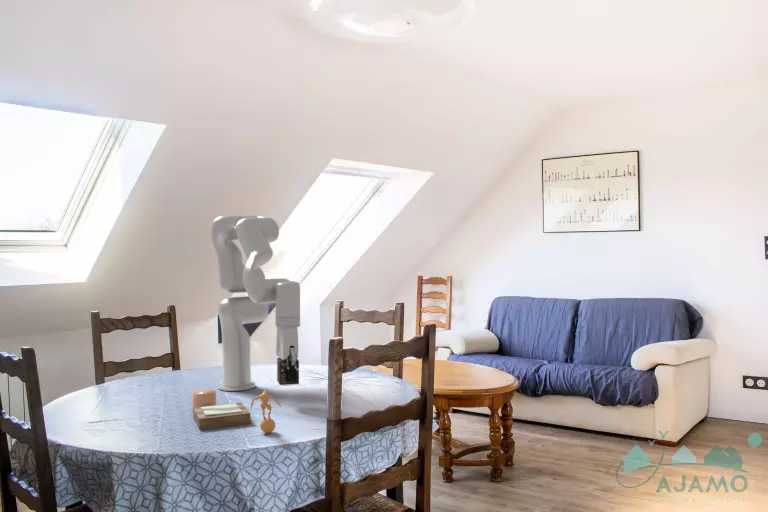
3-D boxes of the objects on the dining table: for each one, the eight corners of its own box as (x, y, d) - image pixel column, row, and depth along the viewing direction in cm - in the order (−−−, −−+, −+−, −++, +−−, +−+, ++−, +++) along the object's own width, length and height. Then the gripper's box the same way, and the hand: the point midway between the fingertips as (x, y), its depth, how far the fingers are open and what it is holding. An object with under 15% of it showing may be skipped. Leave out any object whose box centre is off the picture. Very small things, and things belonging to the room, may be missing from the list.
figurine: (284, 430, 187) (283, 386, 187) (279, 437, 181) (278, 391, 181) (254, 430, 188) (253, 386, 187) (248, 437, 182) (247, 391, 181)
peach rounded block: (191, 410, 211) (190, 390, 211) (214, 407, 214) (214, 388, 214) (194, 415, 205) (193, 395, 205) (218, 413, 207) (217, 393, 207)
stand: (193, 417, 202) (193, 406, 202) (241, 412, 208) (241, 401, 207) (199, 429, 189) (199, 417, 189) (250, 423, 195) (250, 411, 195)
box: (279, 385, 210) (279, 361, 210) (276, 381, 216) (276, 357, 215) (299, 384, 212) (299, 360, 211) (296, 379, 218) (296, 356, 217)
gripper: (269, 318, 219) (269, 374, 220) (282, 326, 203) (282, 386, 204) (292, 316, 222) (292, 372, 223) (307, 325, 206) (307, 384, 207)
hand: (287, 378), depth 214 cm, fingers closed on box, 6 cm apart
